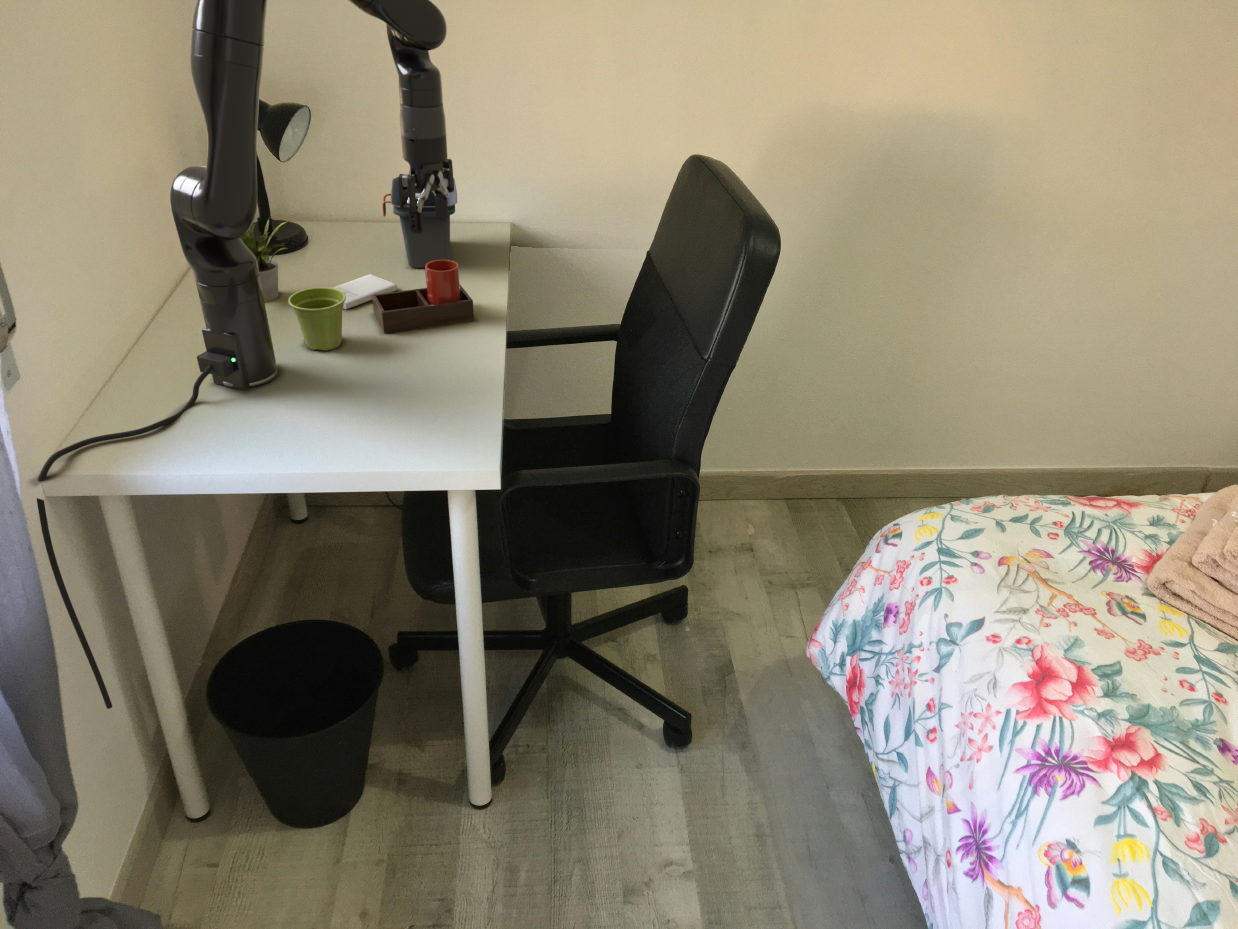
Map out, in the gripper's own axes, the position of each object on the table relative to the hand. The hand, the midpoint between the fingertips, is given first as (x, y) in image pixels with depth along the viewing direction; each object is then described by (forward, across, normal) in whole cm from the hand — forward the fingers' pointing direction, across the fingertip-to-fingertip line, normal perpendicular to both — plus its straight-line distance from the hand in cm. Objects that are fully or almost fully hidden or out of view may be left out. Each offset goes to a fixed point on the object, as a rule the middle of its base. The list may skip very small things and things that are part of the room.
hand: (429, 225), depth 162 cm
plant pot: (+18, +19, -11) cm, 28 cm away
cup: (+16, -1, +1) cm, 17 cm away
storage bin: (+17, -27, -19) cm, 37 cm away
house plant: (+18, +7, -35) cm, 40 cm away
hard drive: (+18, -2, -18) cm, 26 cm away
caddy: (+17, +2, -2) cm, 18 cm away
